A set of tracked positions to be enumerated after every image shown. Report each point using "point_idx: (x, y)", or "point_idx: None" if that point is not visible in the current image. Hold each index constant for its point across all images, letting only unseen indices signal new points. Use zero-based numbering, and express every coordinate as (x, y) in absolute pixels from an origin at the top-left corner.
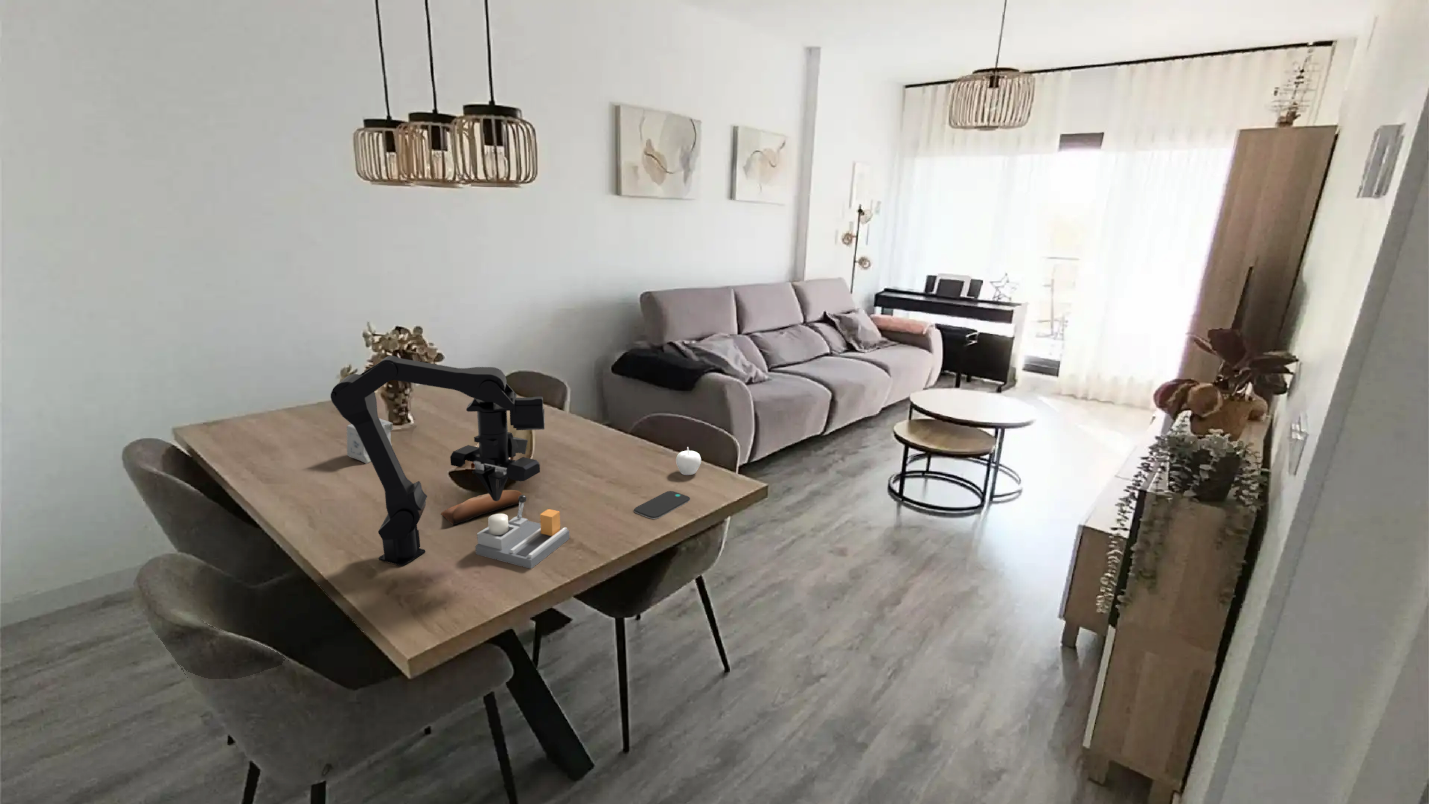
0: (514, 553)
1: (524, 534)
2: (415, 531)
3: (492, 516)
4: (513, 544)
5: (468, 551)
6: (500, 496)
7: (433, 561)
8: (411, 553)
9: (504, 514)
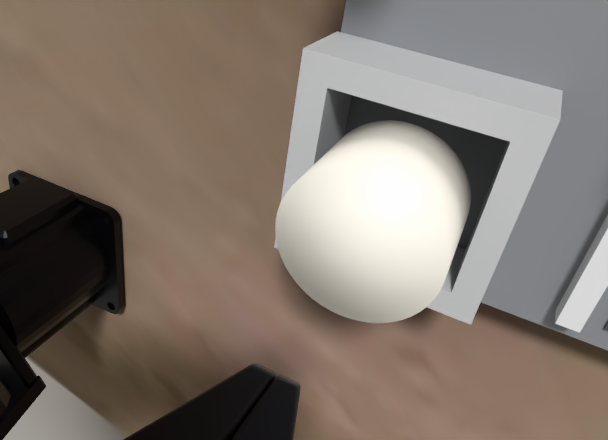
0: (589, 320)
1: (589, 43)
2: (11, 267)
3: (297, 225)
4: (541, 210)
5: (274, 184)
6: (293, 423)
7: (191, 272)
8: (97, 279)
9: (384, 178)
